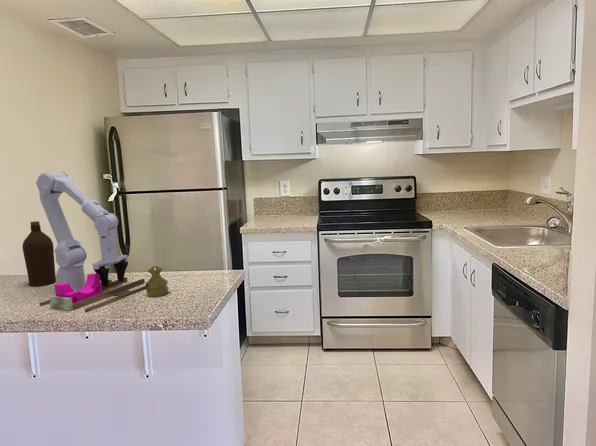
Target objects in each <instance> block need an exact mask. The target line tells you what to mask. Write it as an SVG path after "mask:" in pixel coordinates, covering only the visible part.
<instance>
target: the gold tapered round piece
mask: <svg viewBox="0 0 596 446" xmlns="http://www.w3.org/2000/svg"><path fill="white" fill-rule="evenodd" d="M163 270H164V269H163V267H161V266H158V265H153V266H152V267H150V268H148V270H147V272H148V273H150V275H151V277H150V278H149V280H147V281H146V282H145V286H146V287H147V289H145V291H146V296H147V297H150V298H157V297H158V296H159V297H162V296H166V295H168V293H169V286H168V282H169V281H168V280H167V279H166V278H164V277H163V276H162V275H161V272H163Z"/></svg>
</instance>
